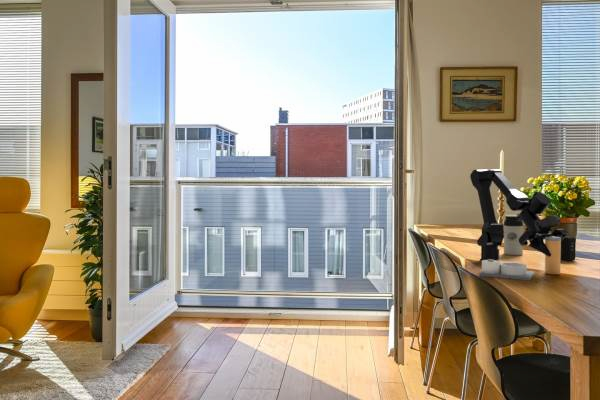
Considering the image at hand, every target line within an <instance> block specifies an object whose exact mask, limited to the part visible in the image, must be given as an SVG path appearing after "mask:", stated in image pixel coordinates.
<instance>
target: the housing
mask: <svg viewBox="0 0 600 400" xmlns="http://www.w3.org/2000/svg"><path fill="white" fill-rule="evenodd" d="M527 268H528V267H527V264H526V263H522V262H513V261H510V262H509V261H507V262H506V261H504V262H501V261H499V260H497V261H496V260H493V259H488V260H481V271H480V272H479V277H487V278H498V277H500V278H501V279H509V278H511V280H519V281H531V279H533V277H534V276H535V271H533V270H527Z"/></svg>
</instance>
